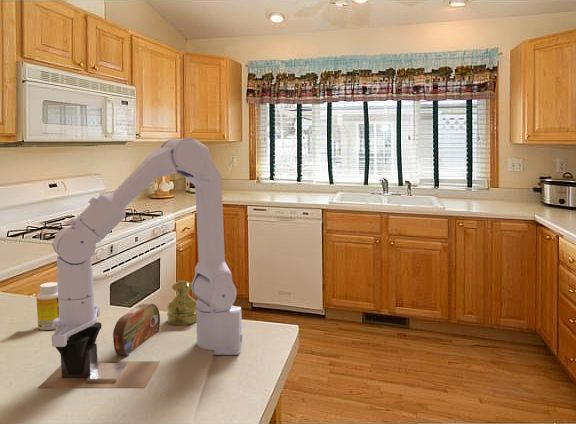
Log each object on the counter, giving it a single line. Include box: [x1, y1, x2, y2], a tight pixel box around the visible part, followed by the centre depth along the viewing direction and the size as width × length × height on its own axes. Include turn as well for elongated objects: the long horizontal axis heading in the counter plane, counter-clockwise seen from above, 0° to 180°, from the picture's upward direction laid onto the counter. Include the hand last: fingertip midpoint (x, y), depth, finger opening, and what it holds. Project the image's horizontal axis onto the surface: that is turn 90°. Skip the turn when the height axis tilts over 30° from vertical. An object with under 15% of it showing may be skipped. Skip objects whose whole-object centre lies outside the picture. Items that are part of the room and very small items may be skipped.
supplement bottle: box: [35, 281, 59, 331], centre depth 107 cm, size 6×6×10 cm
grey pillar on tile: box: [60, 343, 128, 382], centre depth 81 cm, size 10×6×5 cm, turn 91°
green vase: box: [166, 279, 197, 326], centre depth 111 cm, size 7×7×10 cm
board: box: [37, 360, 161, 389], centre depth 82 cm, size 18×10×1 cm, turn 91°
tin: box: [112, 303, 161, 357], centre depth 95 cm, size 15×3×8 cm, turn 168°
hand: (80, 369), depth 81 cm, fingers closed on grey pillar on tile, 3 cm apart
